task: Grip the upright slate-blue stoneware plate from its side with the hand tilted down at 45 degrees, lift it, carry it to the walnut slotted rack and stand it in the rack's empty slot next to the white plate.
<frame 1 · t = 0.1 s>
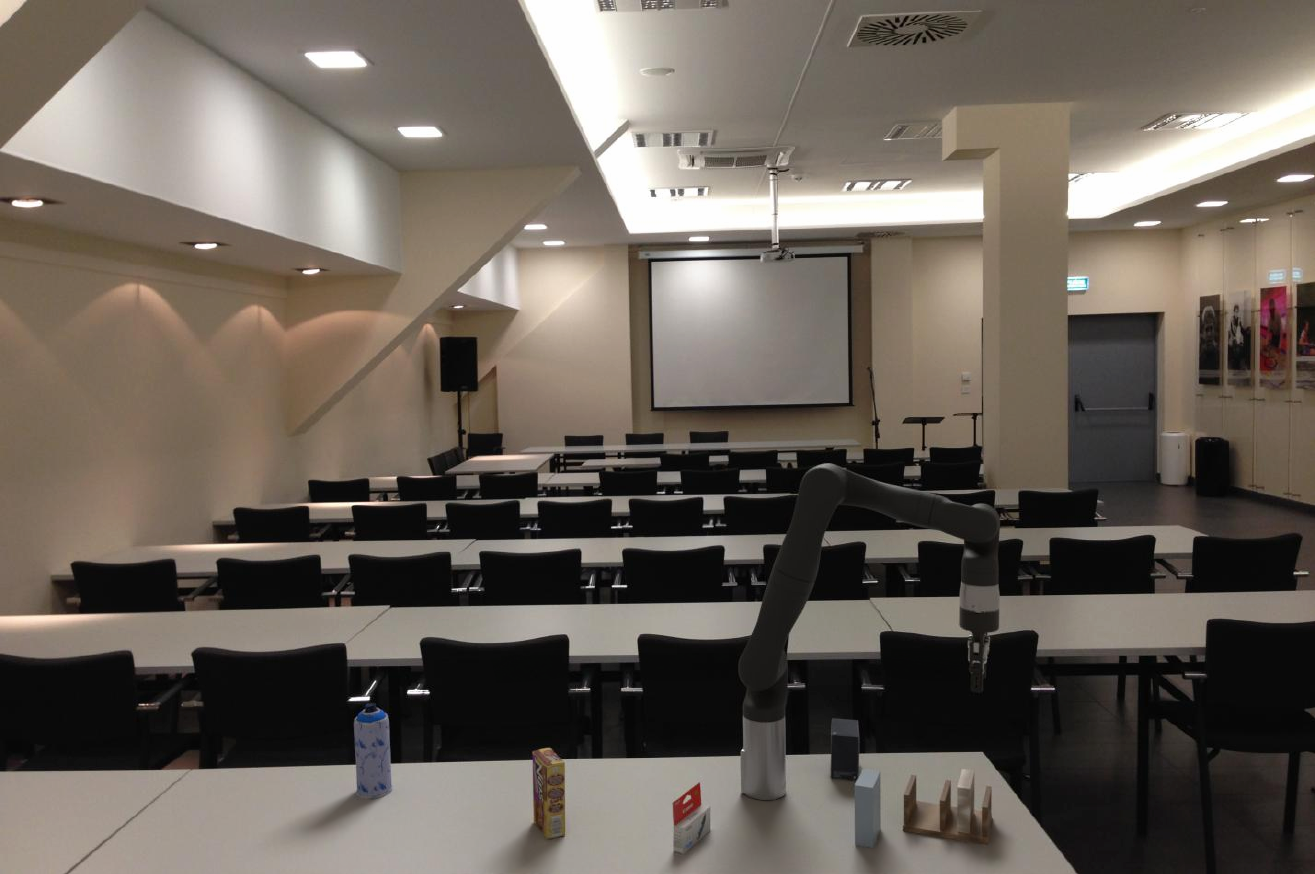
hand: (978, 685, 190), 29 cm above the table, tool pointing down, fingers open, 8 cm apart
ink cartridge box: (692, 842, 189), on the table
aerosol can: (374, 791, 215), on the table
plate: (868, 836, 189), on the table
rack: (947, 824, 194), on the table
candy box: (550, 829, 195), on the table
small box: (845, 771, 220), on the table
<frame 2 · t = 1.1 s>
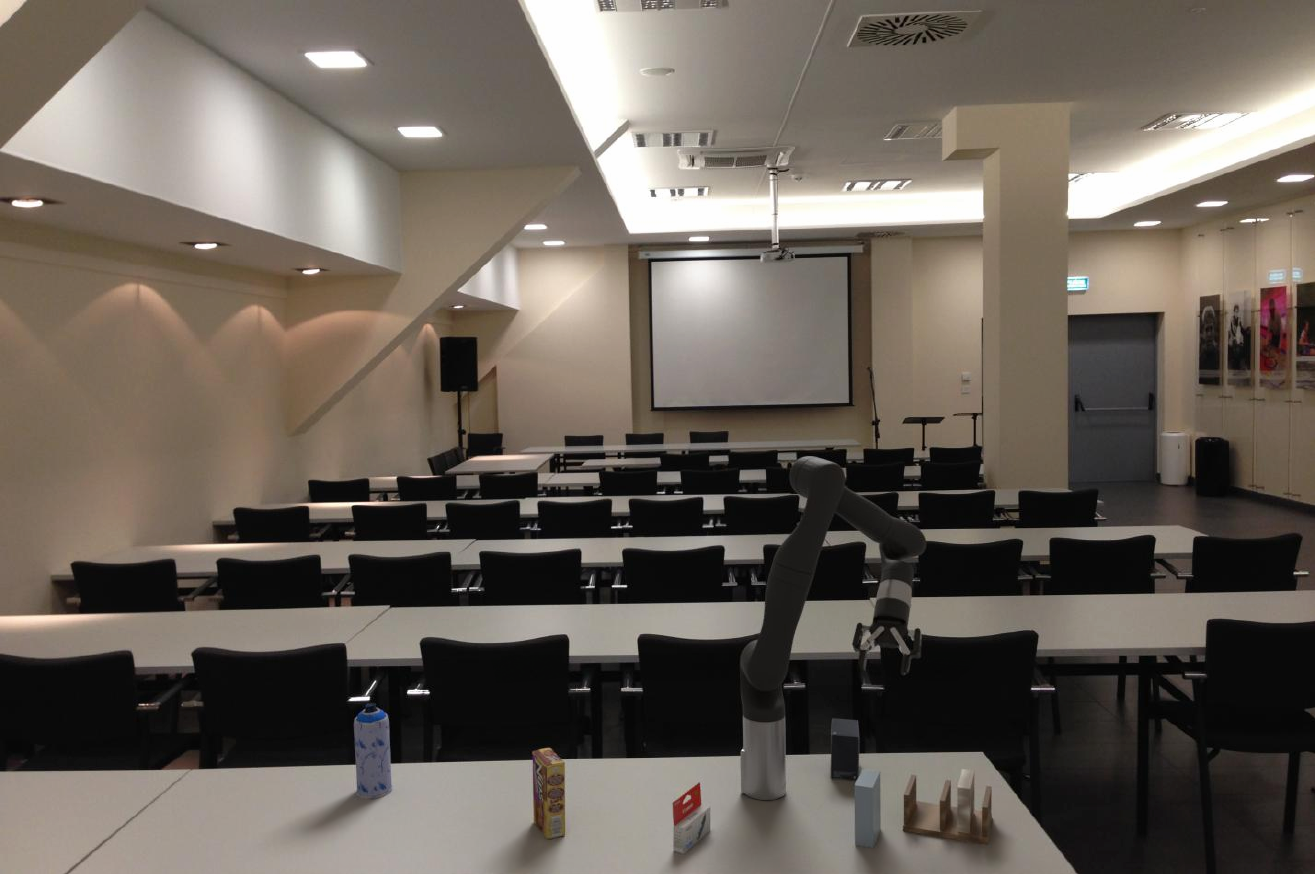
hand: (882, 671, 202), 29 cm above the table, tool tilted 45°, fingers open, 8 cm apart
nothing on the table moved.
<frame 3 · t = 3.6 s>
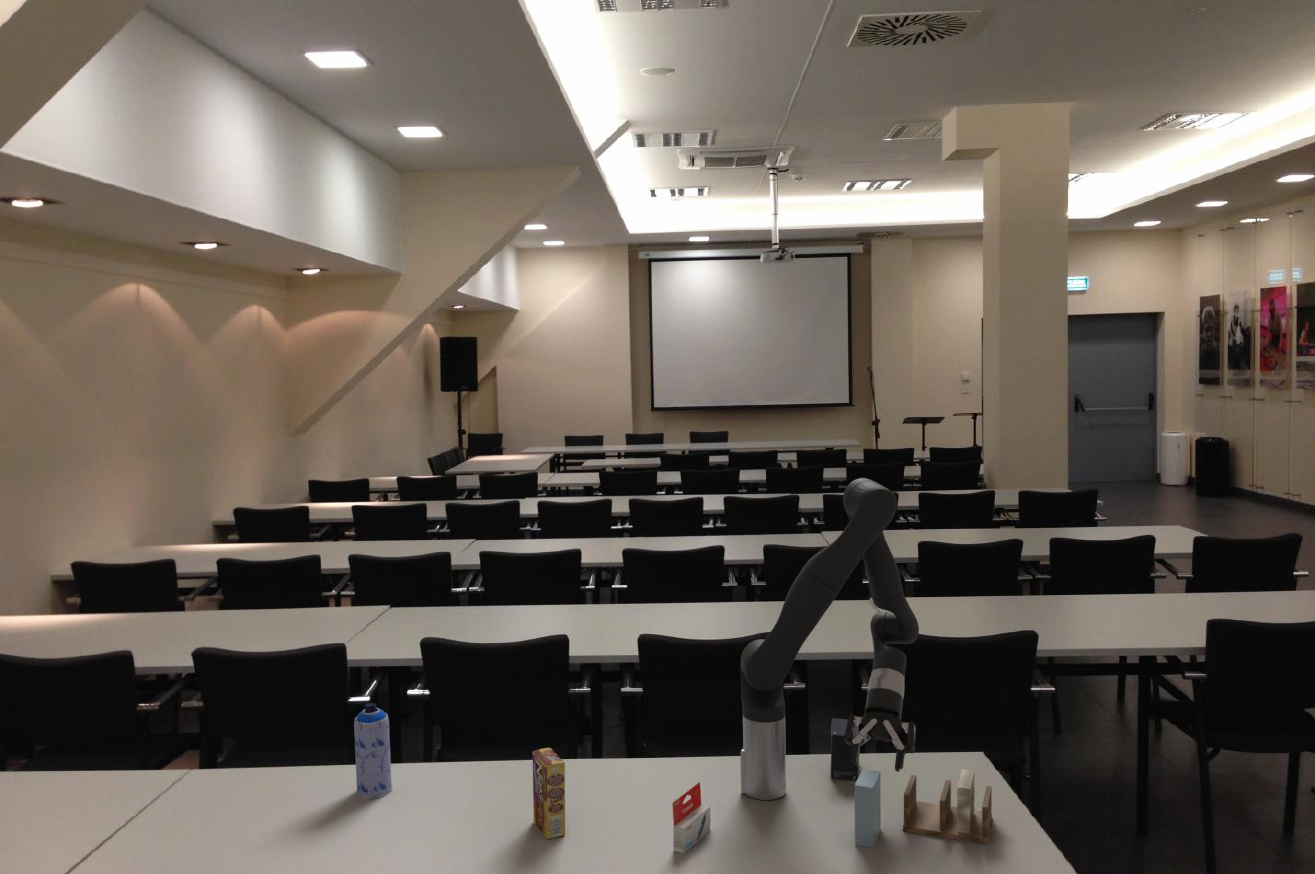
hand: (876, 767, 196), 11 cm above the table, tool tilted 45°, fingers open, 8 cm apart
nothing on the table moved.
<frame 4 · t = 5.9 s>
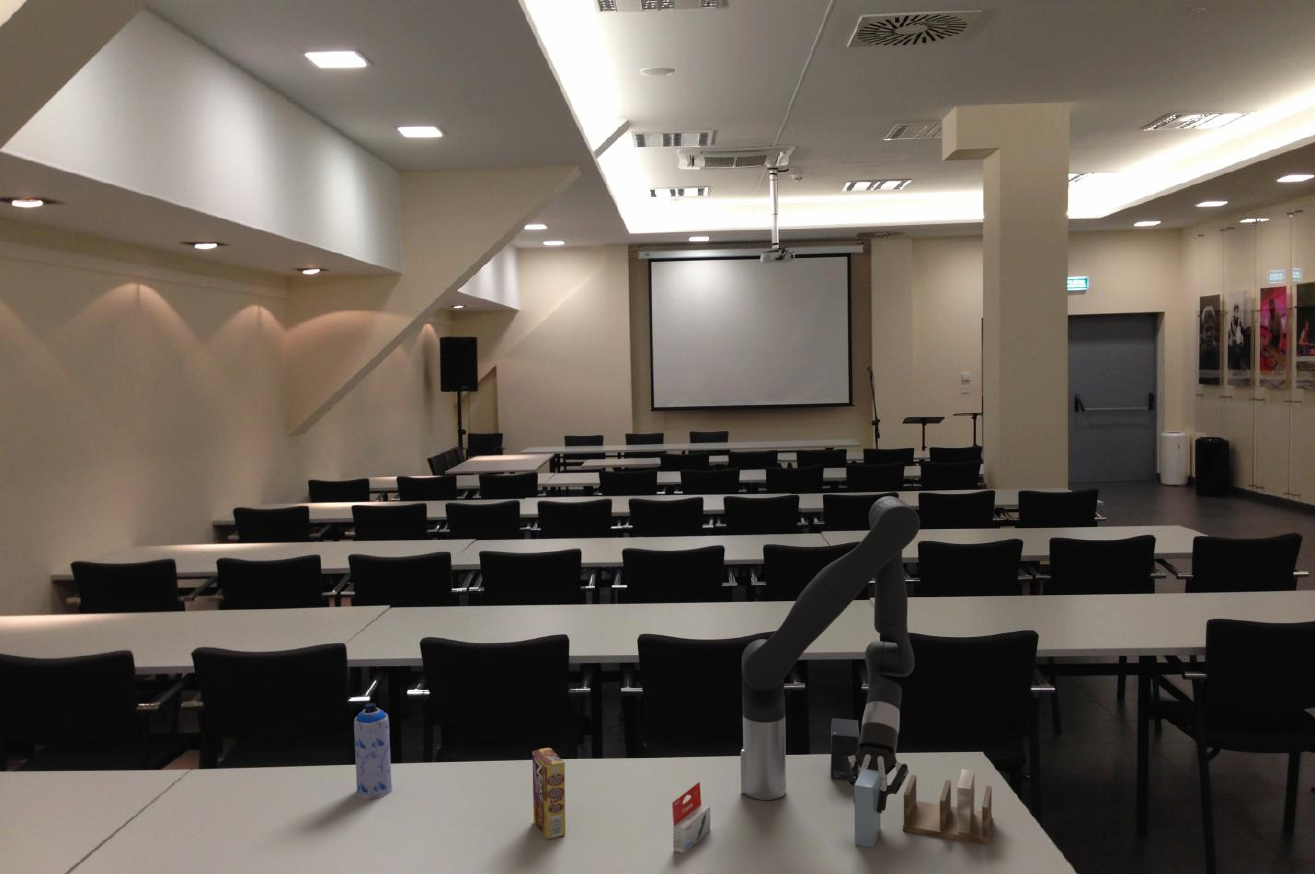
hand: (868, 809, 190), 5 cm above the table, tool tilted 45°, fingers closed on plate, 3 cm apart
plate: (867, 836, 189), on the table, touching gripper
everything else where it was.
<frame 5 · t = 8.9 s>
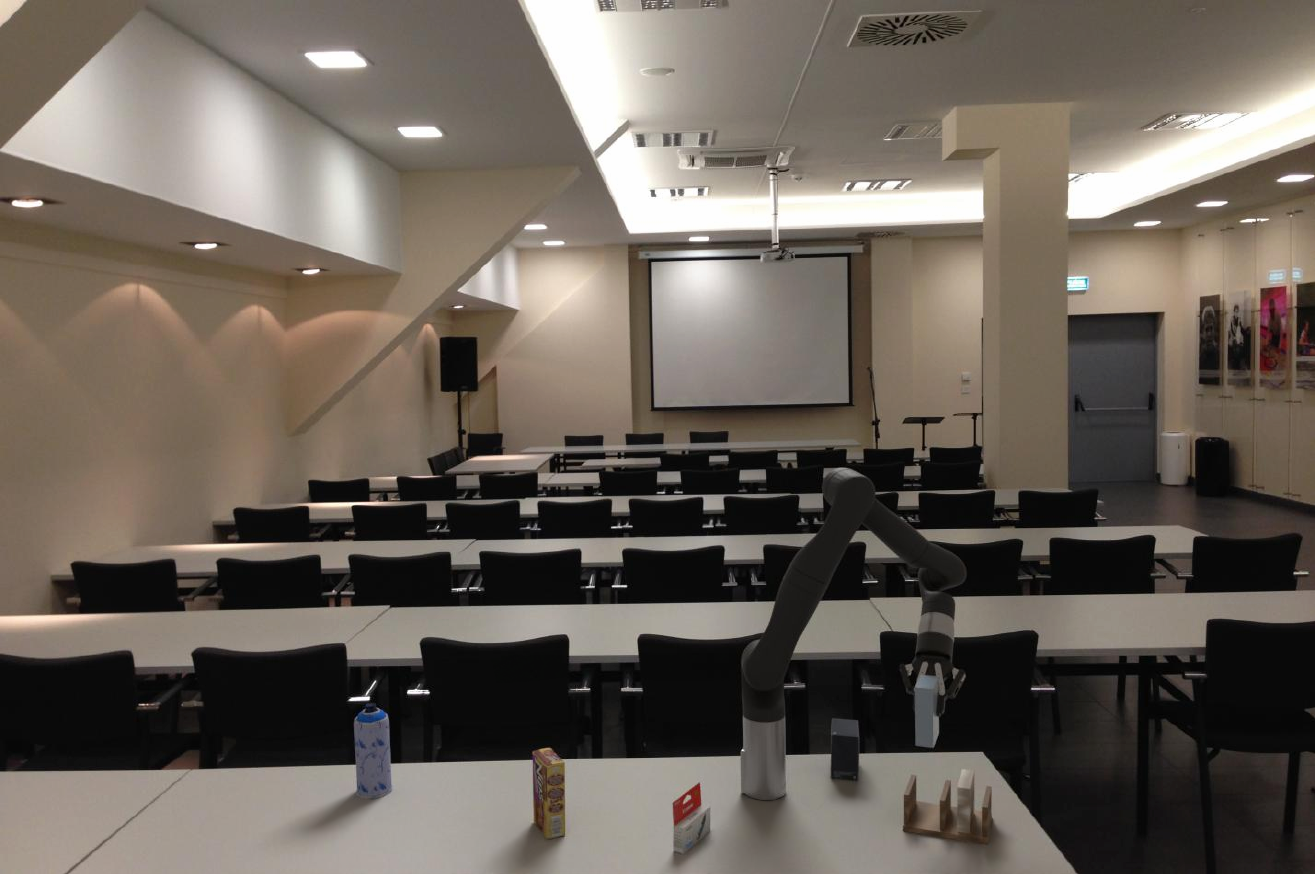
hand: (927, 713, 194), 22 cm above the table, tool tilted 45°, fingers closed on plate, 3 cm apart
plate: (927, 739, 194), point 17 cm above the table, touching gripper
everything else where it was.
when the fingers open (8 cm above the table, at t = 11.9 s): plate drops 2 cm, resting on rack.
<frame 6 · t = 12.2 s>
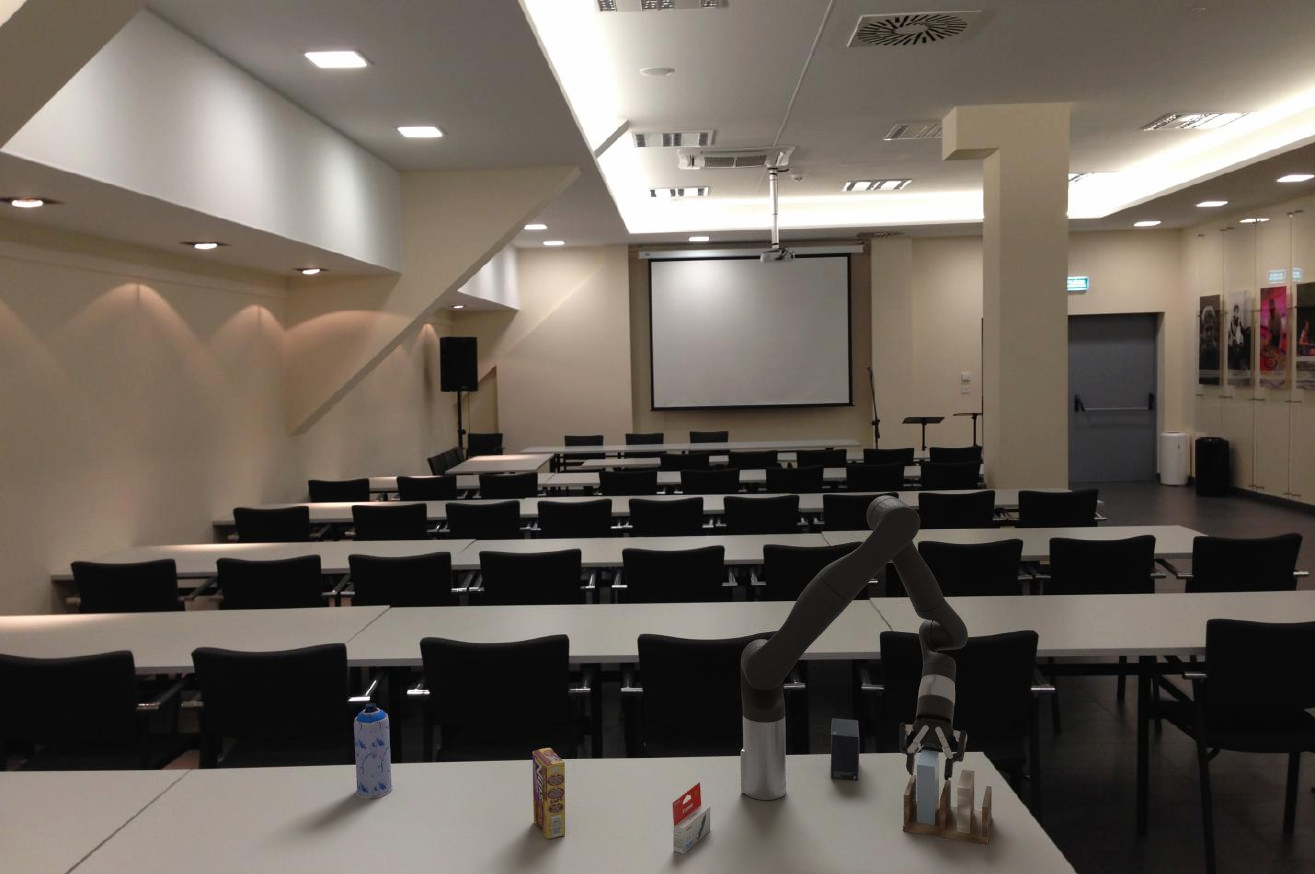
hand: (928, 776, 196), 9 cm above the table, tool tilted 45°, fingers open, 6 cm apart
plate: (928, 815, 195), point 1 cm above the table, touching rack
everything else where it was.
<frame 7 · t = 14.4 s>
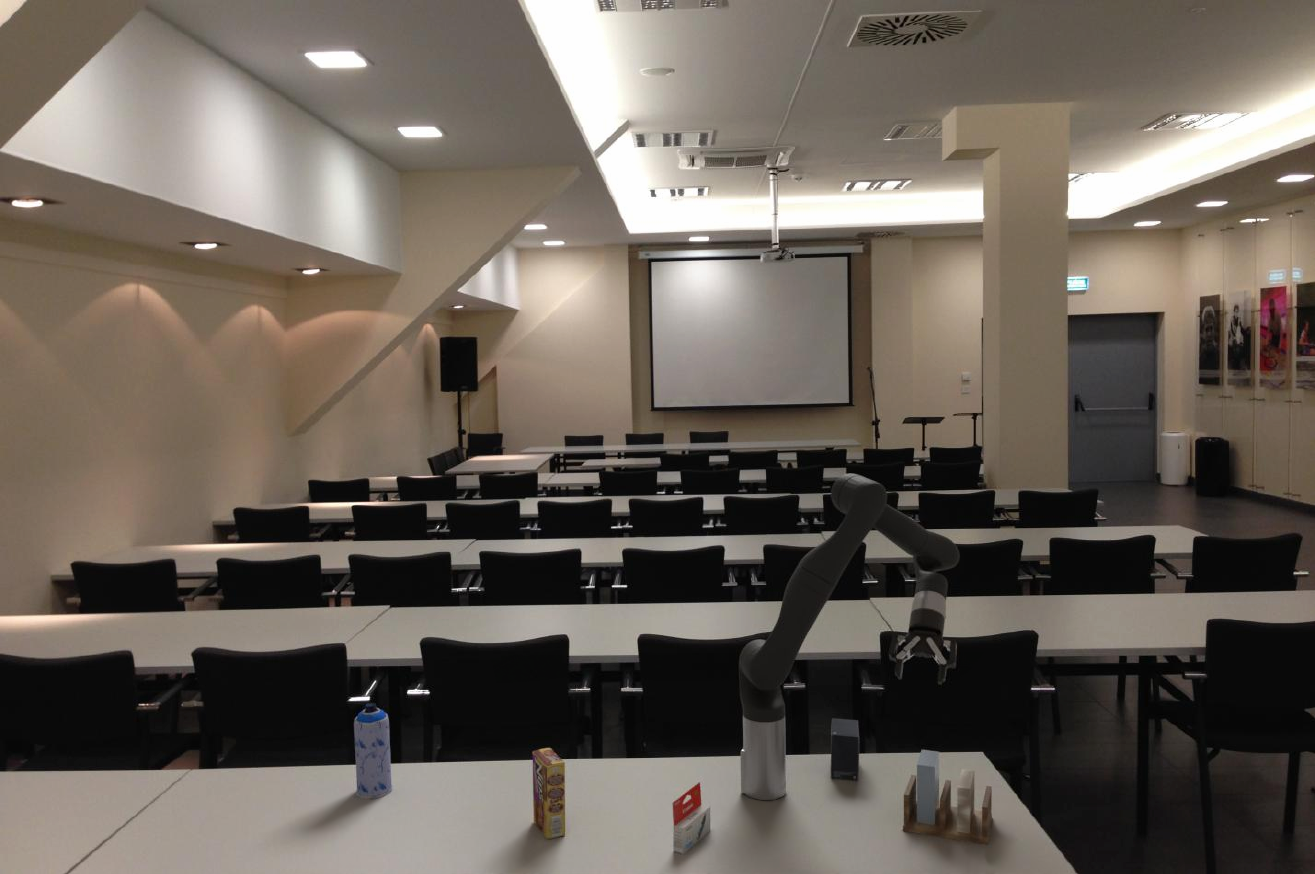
hand: (919, 680, 207), 25 cm above the table, tool tilted 45°, fingers open, 8 cm apart
nothing on the table moved.
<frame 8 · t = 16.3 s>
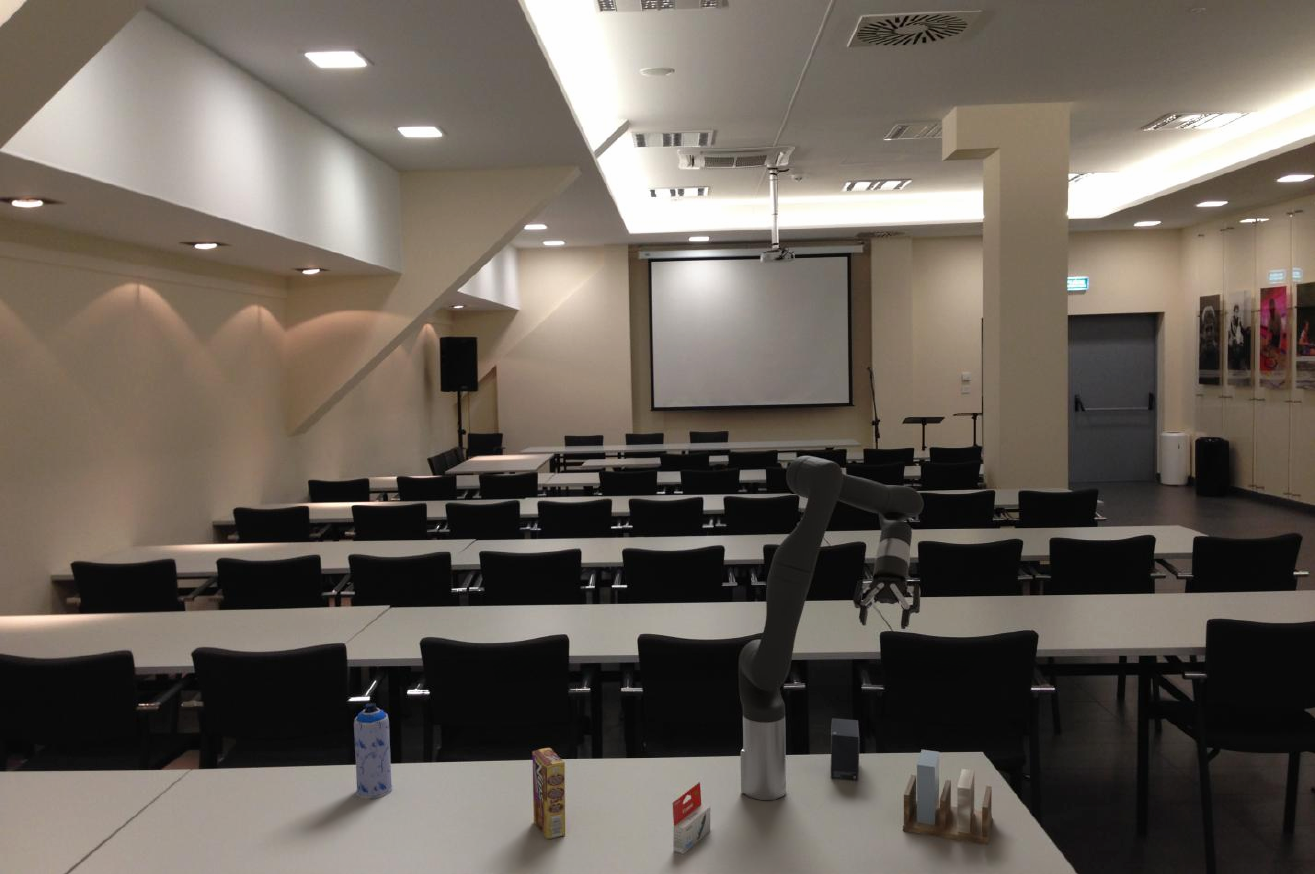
hand: (883, 625, 208), 37 cm above the table, tool tilted 45°, fingers open, 8 cm apart
nothing on the table moved.
at the end: plate inside the target area on the rack (0.4 cm from its centre), point 1.0 cm above the rack's base; plate tilted 0°; the gripper is holding nothing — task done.
